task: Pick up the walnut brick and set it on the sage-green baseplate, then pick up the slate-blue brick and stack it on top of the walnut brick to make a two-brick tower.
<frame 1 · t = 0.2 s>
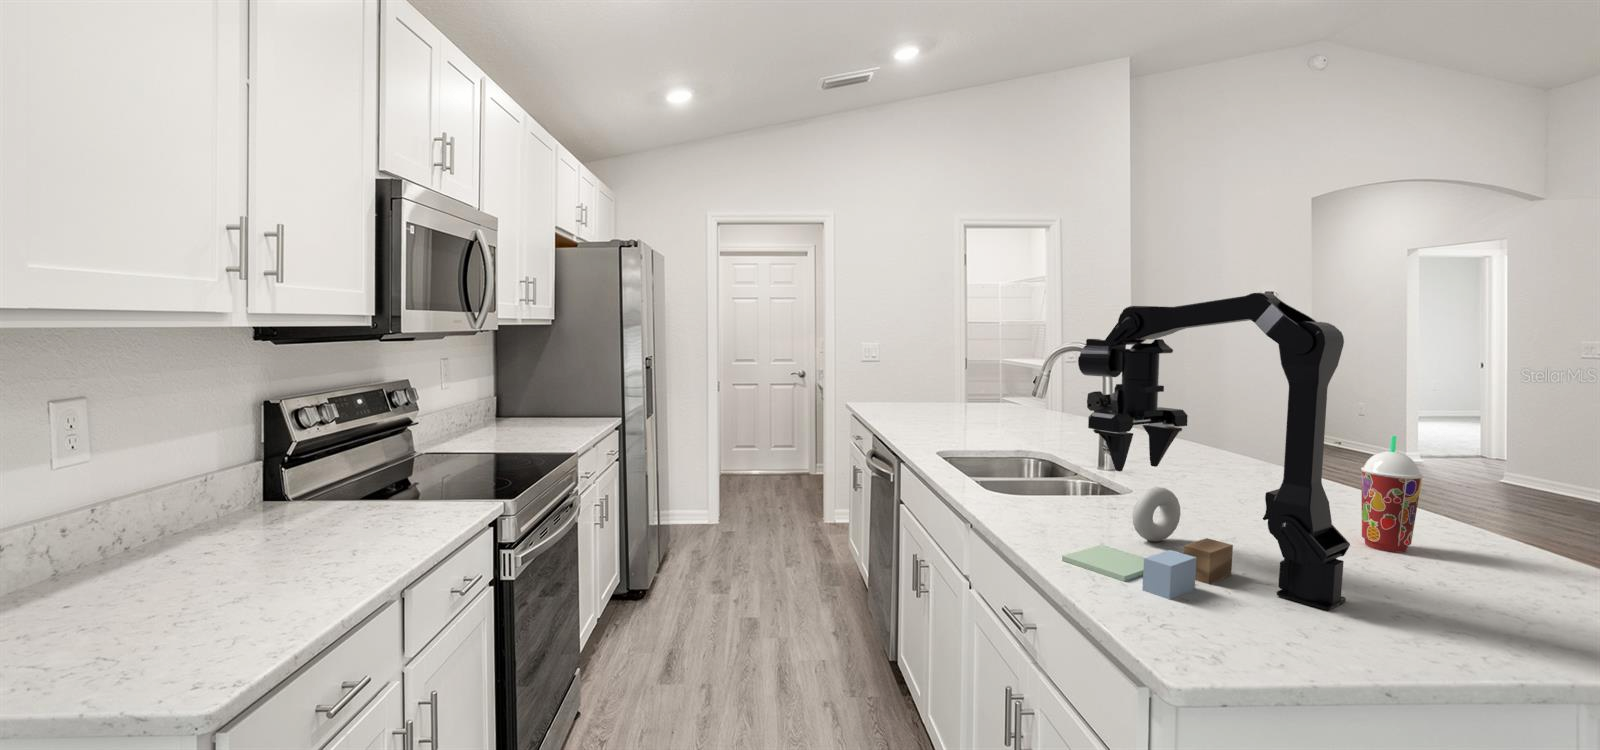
hand: (1136, 468, 122), 14 cm above the countertop, tool pointing down, fingers open, 9 cm apart
smoothie: (1385, 548, 125), on the countertop
slate brick: (1168, 590, 104), on the countertop
baseplate: (1112, 564, 115), on the countertop
walnut brick: (1206, 576, 110), on the countertop
donut: (1155, 542, 128), on the countertop
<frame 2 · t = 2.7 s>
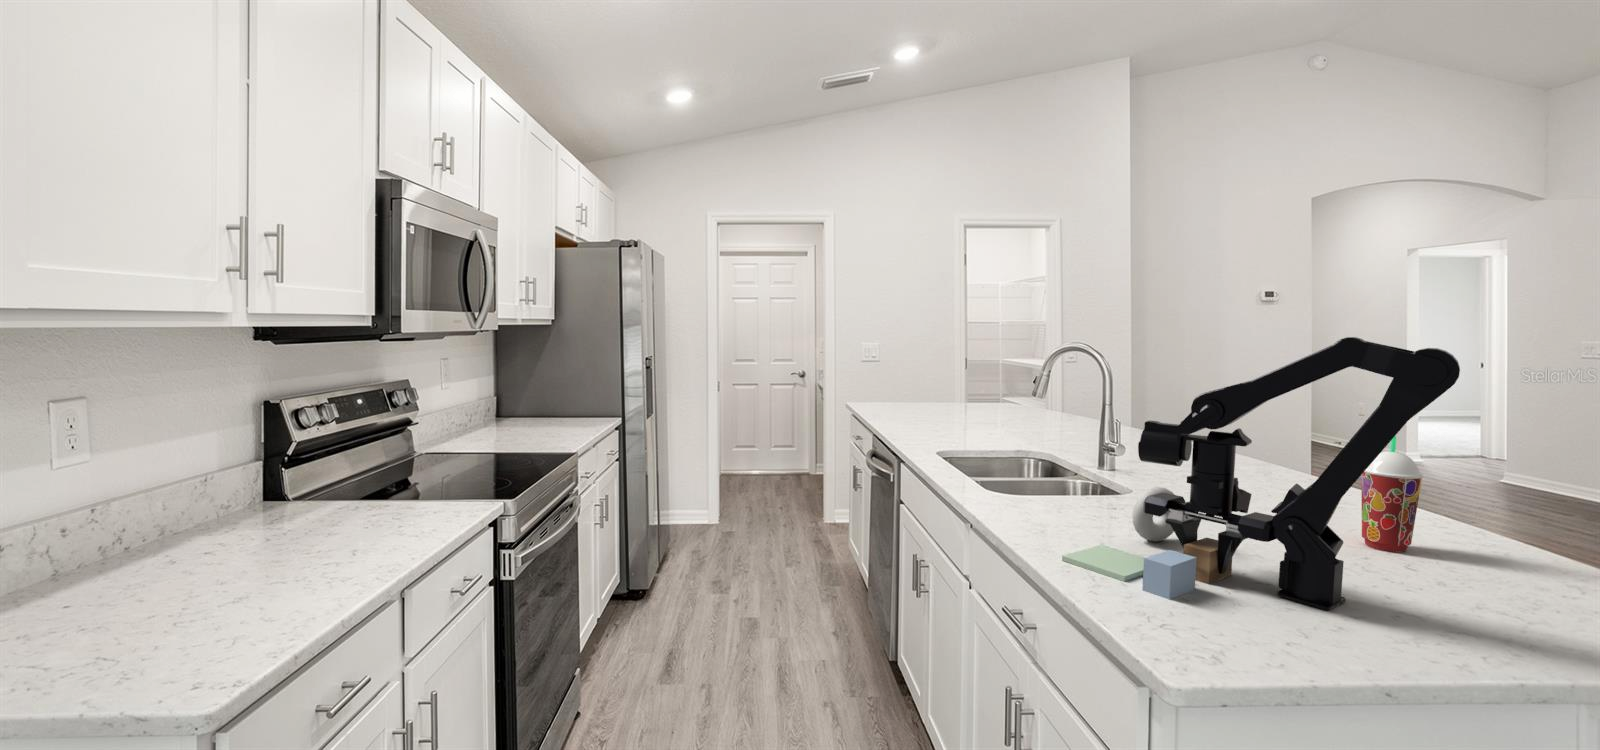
hand: (1207, 569, 110), 1 cm above the countertop, tool pointing down, fingers closed on walnut brick, 4 cm apart
walnut brick: (1206, 575, 110), on the countertop, touching gripper
everything else where it was.
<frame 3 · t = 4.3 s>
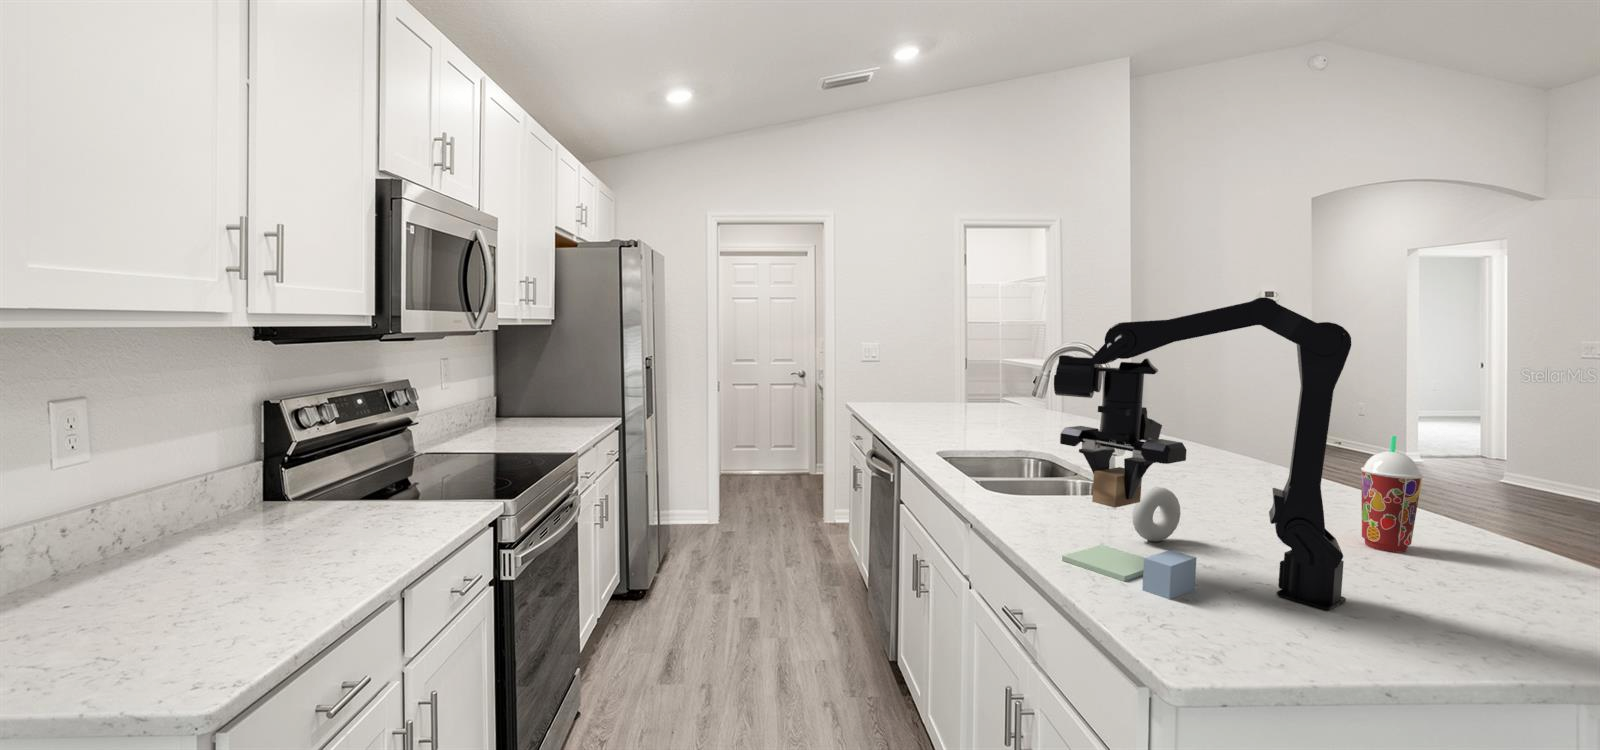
hand: (1116, 495, 114), 11 cm above the countertop, tool pointing down, fingers closed on walnut brick, 4 cm apart
walnut brick: (1116, 501, 114), point 10 cm above the countertop, touching gripper
everything else where it was.
when the fingers open (3 cm above the countertop, at t = 6.1 s): walnut brick drops 1 cm, resting on baseplate.
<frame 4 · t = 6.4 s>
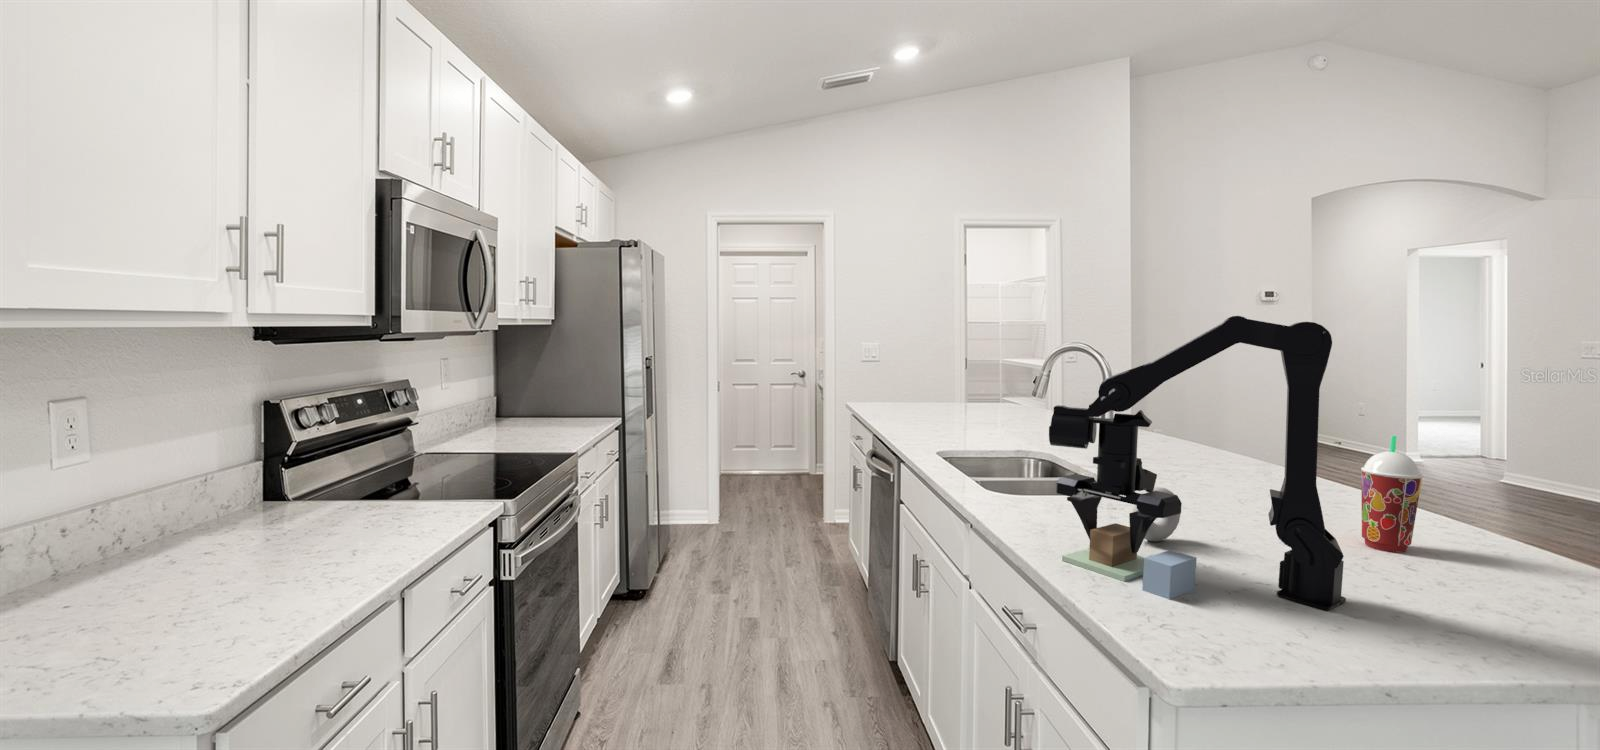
hand: (1113, 546, 115), 3 cm above the countertop, tool pointing down, fingers open, 7 cm apart
walnut brick: (1112, 559, 115), point 1 cm above the countertop, touching baseplate
everything else where it was.
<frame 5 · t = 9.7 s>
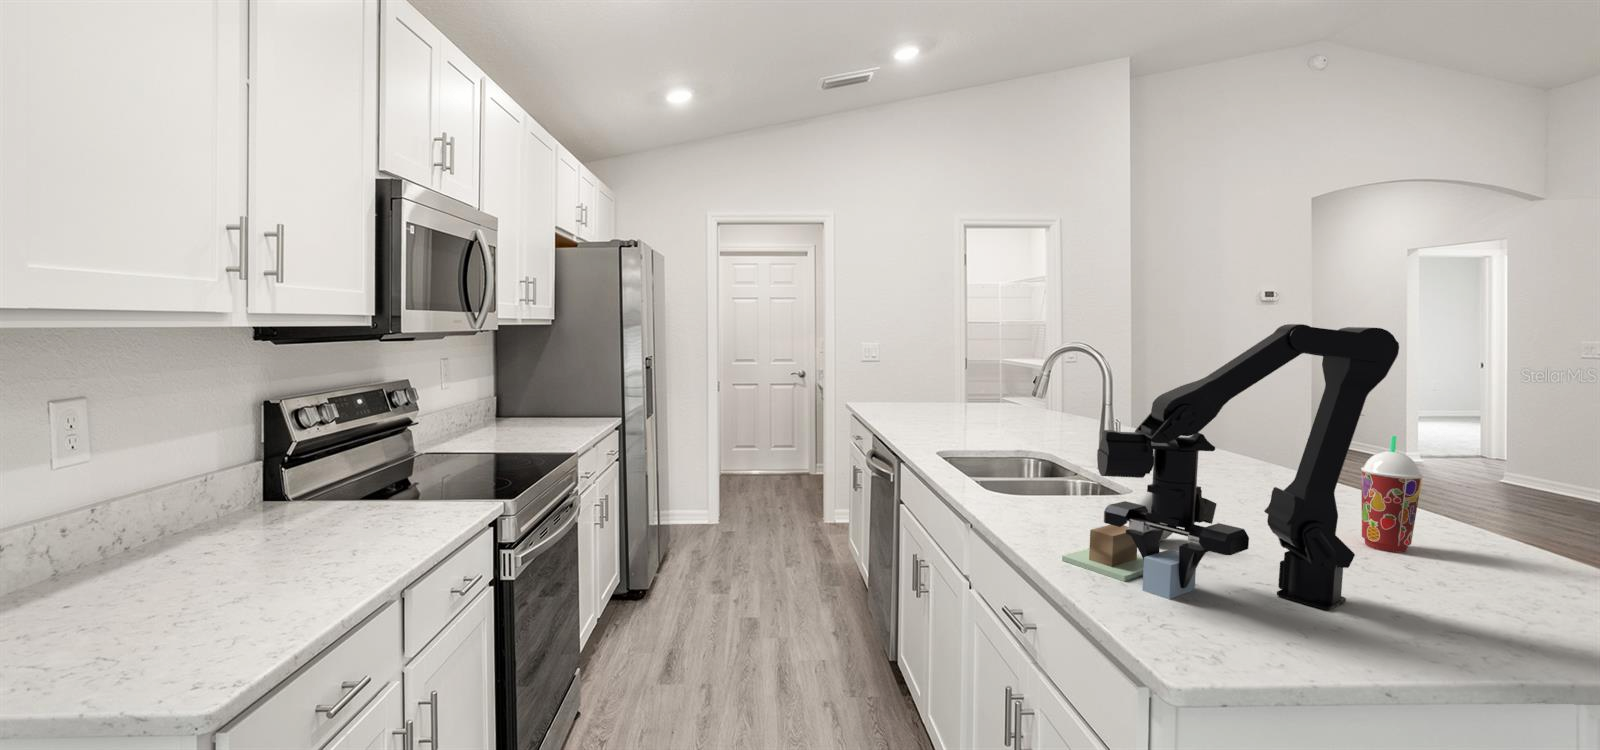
hand: (1168, 582, 104), 1 cm above the countertop, tool pointing down, fingers closed on slate brick, 4 cm apart
slate brick: (1168, 589, 104), on the countertop, touching gripper
everything else where it was.
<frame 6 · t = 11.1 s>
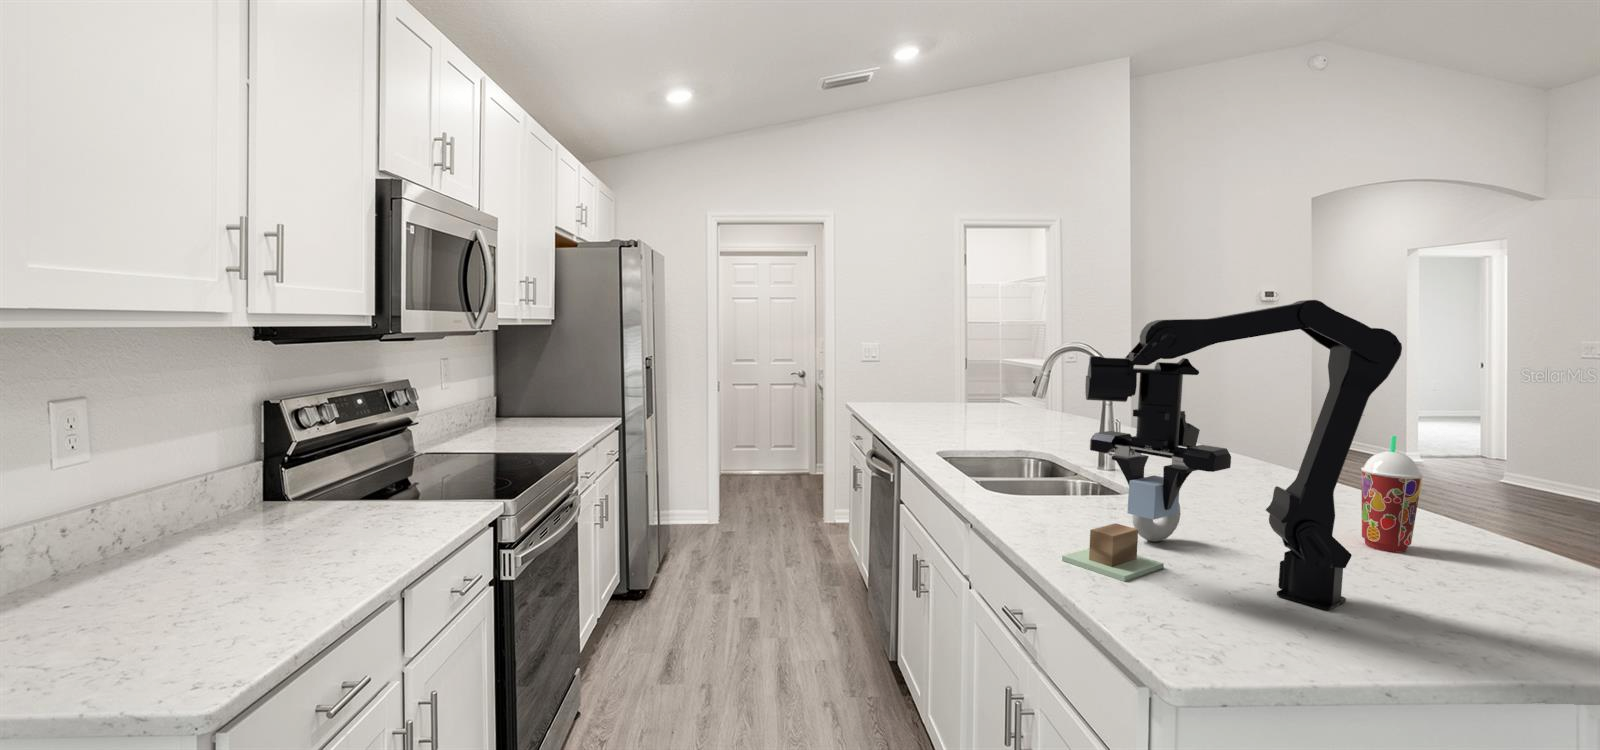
hand: (1153, 506, 107), 12 cm above the countertop, tool pointing down, fingers closed on slate brick, 4 cm apart
slate brick: (1152, 513, 107), point 11 cm above the countertop, touching gripper
everything else where it was.
when the fingers open (8 cm above the countertop, at t = 12.5 s): slate brick drops 1 cm, resting on walnut brick.
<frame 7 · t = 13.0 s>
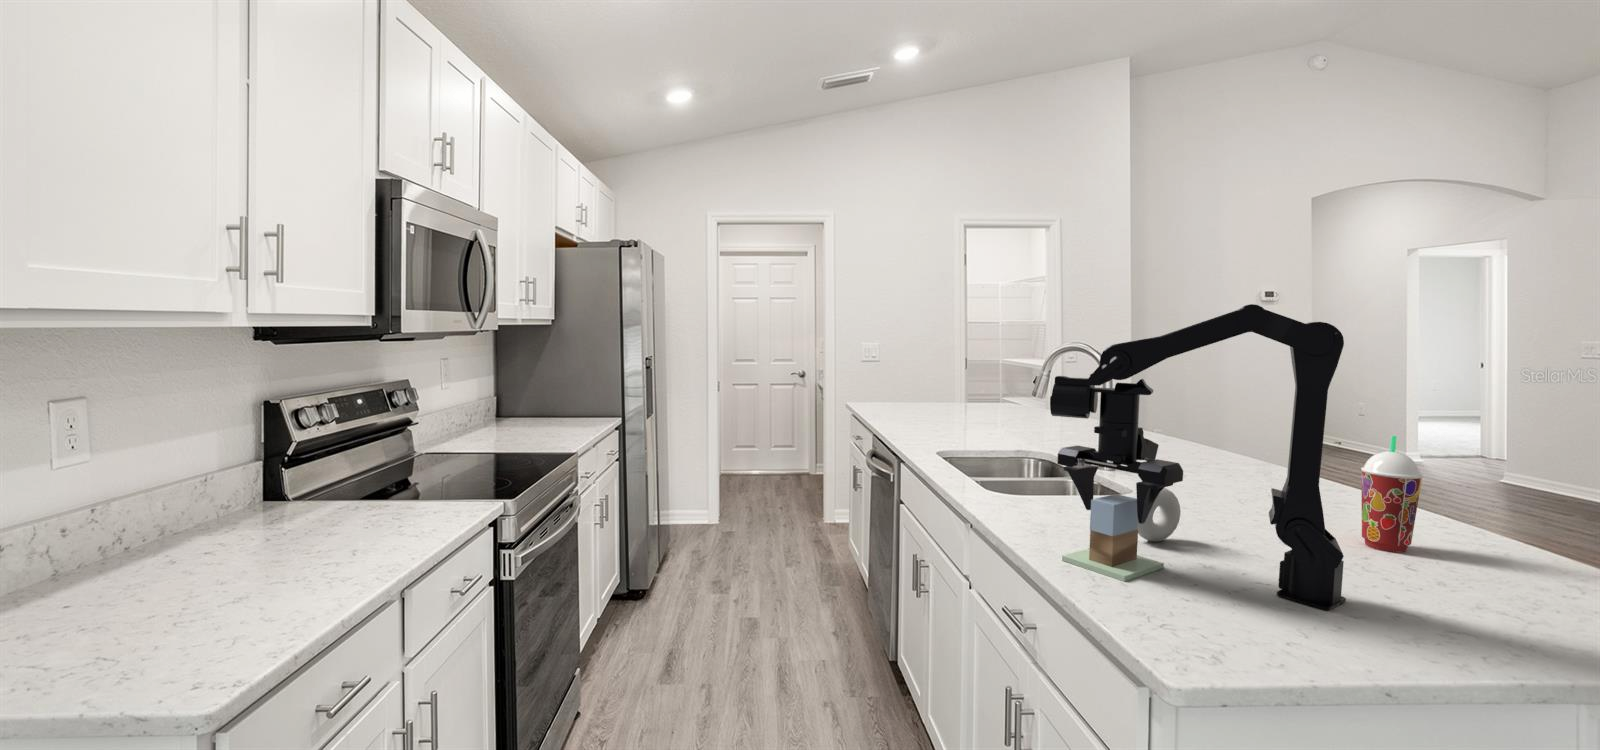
hand: (1114, 516, 115), 8 cm above the countertop, tool pointing down, fingers open, 9 cm apart
slate brick: (1113, 529, 115), point 6 cm above the countertop, touching walnut brick
walnut brick: (1112, 559, 115), point 1 cm above the countertop, touching baseplate, slate brick
everything else where it was.
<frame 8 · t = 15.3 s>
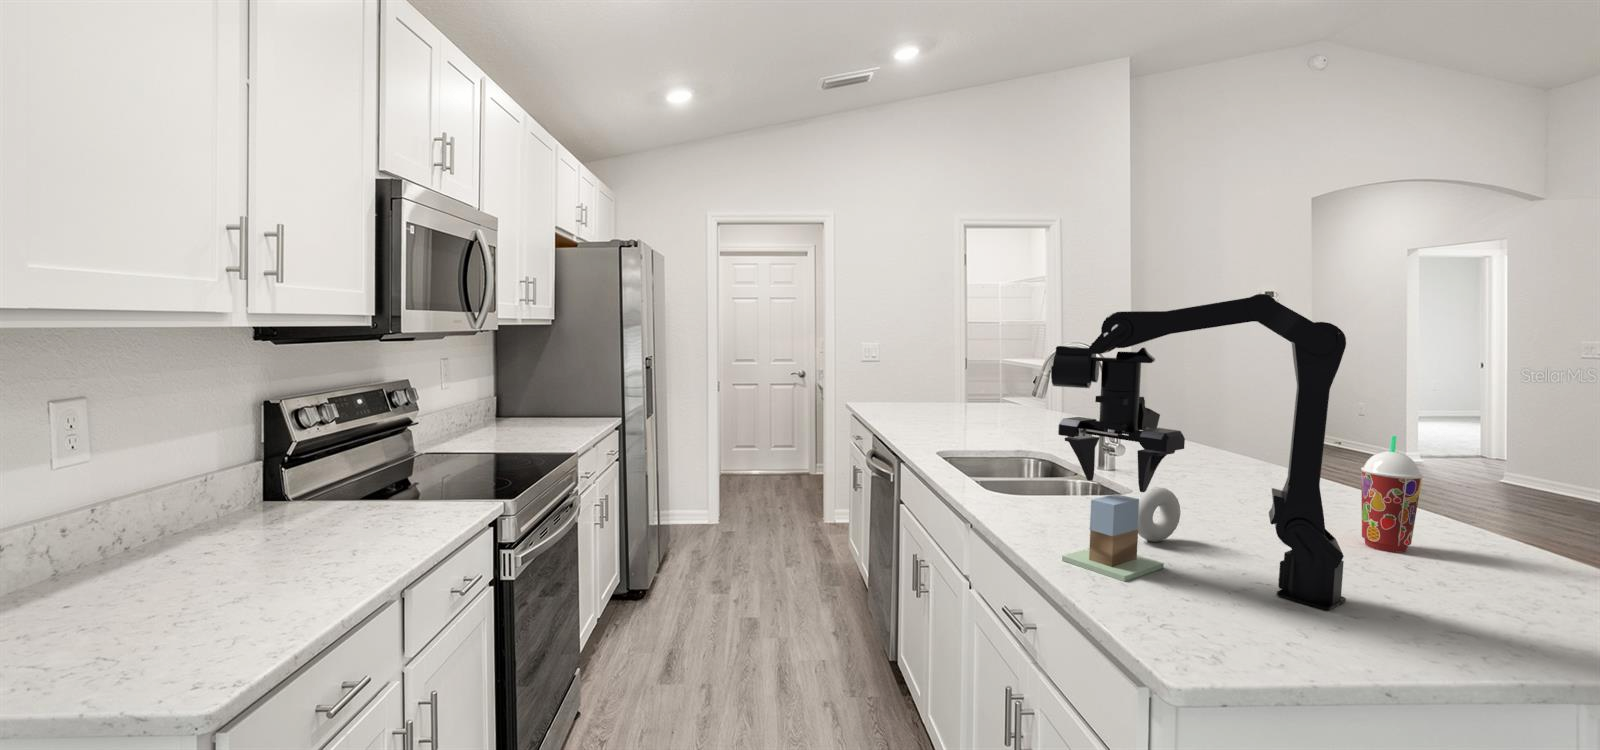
hand: (1115, 485, 114), 13 cm above the countertop, tool pointing down, fingers open, 9 cm apart
nothing on the countertop moved.
at the end: walnut brick inside the target area on the baseplate (0.1 cm from its centre), point 0.8 cm above the baseplate's base; slate brick 0.1 cm from the walnut brick (horizontally); slate brick point 5.8 cm above the countertop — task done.
